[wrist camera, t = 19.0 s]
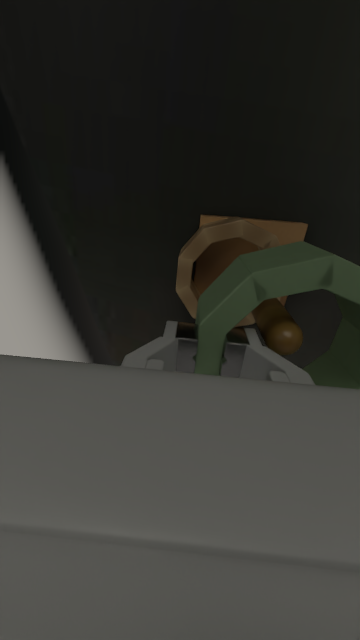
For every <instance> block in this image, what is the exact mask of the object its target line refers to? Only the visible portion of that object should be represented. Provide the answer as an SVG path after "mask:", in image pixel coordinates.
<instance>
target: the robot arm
mask: <svg viewBox="0 0 360 640" xmlns="http://www.w3.org/2000/svg"><path fill="white" fill-rule="evenodd" d="M197 329H198V324H193V323H184V322H177V321H167V322H166V326H165V330H164V334H163V337H159V338H157V339H155V340H153V341H151V342H149V343H148V344H146V345H144V346H142V347H140V348H138V349H137V350H135V351H133V352H131V353H129V354H127V355H126V356H125V357H124V360H123V362H122V364H121V366H114V365H103V364H93V363H82V362H72V361H61V360H51V359H41V358H31V357H20V356H9V355H0V640H360V389H350V388H340V387H330V386H319V385H315V383H314V382H313V380H312V379H311V377H310V375H309V374H308V373H307V372H305V371H304V370H302V369H301V368H299V367H297V366H296V365H294V364H293V363H291V362H289V361H288V360H286V359H285V358H283V357H281V356H280V355H278V354H277V353H275V352H274V351H272V350H270V349H269V348H267V347H265V346H262V344H261V342H260V340H259V337H258V335H257V333H256V331H255V329H254V328H241V327H234V328H232V329H231V330H230V331H229V332H228V333H227V334H226V337H225V341H224V346H223V355H222V358H221V363H220V369H219V371H220V376H216V375H206V374H196V373H194V371H195V363H196V354H197V347H198V331H197Z"/></svg>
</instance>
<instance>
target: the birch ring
mask: <svg viewBox="0 0 360 640" xmlns="http://www.w3.org/2000/svg"><path fill="white" fill-rule="evenodd" d="M238 237H240V238H242V239H244V240H246V241H248V242H250V243H252V244H254V245H256V246H257V247H258V250H259V251H260V250H264V249H268V248H273V247H277V246H280V243H279V241H278V238H277V237H276V235H274V234H272V233H270V232H268V231H266V230H264V229H262V228H260V227H258V226H256V225H254V224H252V223H250V222H248V221H246V220H244V219H242V218H240V217H231V218H227V219H223V220H218V221H214V222H210V223H205V224H203V225H202V226H201V227H200V228H199V229H198V230H197V232H196V233H195V234H194V235H193V236H192V237H191V238H190V240H189V241H188V242H187V243H186V244H185V245H184V246H183V248H182V249H181V251H180V254H179V258H178V269H177V280H176V292H177V294H178V295H179V297H180V298H181V300H182V302H183V303H184V305H185V306H186V308H187V310H188V311H189V313H190V314H191V316H192V317H193V318H195V319H196V314H197V305H198V299H199V297H200V295H201V294H200V292H199V290H198V289H197V287H196V285H195V283H194V282H193V280H192V278H191V277H192V268H193V263H194V262H195V261H196V259H197V258H198V257H199V256H200V255H201V254H202V253H203V252H204V251H205V250H206V249H207V248H208V246H209V245H210V244H211V243H215V242H219V241H224V240H228V239H233V238H238ZM280 298H281V297H277V299H278V300H279V301H280ZM254 323H255V319H254V317H253V315H252V313H251V312H250V313H249V314H248V315H247V316H246V317H245V318H244V319H242V320H241V321H240V322H239V323H238V324H237V325H236V326H235V327H238V326H244V325H250V324H254Z"/></svg>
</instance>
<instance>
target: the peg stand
mask: <svg viewBox="0 0 360 640" xmlns="http://www.w3.org/2000/svg"><path fill="white" fill-rule="evenodd" d="M227 218H231V217H227V216H215V215H202V214H201V216H200V226H199V228H200V227H201V226H202V225H203V224H205V223H210V222H214V221H218V220H223V219H227ZM242 219H244V220H246V221H248V222H250V223H252V224H254V225H256V226H258V227H260V228H262V229H264V230H266V231H268V232H270V233H272V234H274V235H276V237H277V238H278V241H279V243H280V246H282V245H286V244H290V243H295V242H299V241H302V242H303V241H304V237H305V234H306V230H307V227H308V224H305V223H302V222H290V221H277V220H265V219H252V218H242ZM255 251H259V250H258V247H257V246H256V245H254V244H252V243H250V242H248V241H246V240H244V239H242V238H240V237H238V238H233V239H228V240H224V241H219V242H215V243H211V244H210V245H209V246H208V248H207V249H206V250H205V251H204V252H203V253H202V254H201V255H200V256H199V257H198V258H197V259H196V266H195V276H194V283H195V285H196V287H197V289H198V290H199V292H200V294H202V293H203V292H204V291H205V290H206V289H207V288H208V287H209V286H210V285H211V284H212V283H213V282H214V281H215V280H216V279H217V278H218V277H219V276H220V275H221V274H222V273H223V272H224V271H225V269H226V268H227V267H228V266H229V265H230V264H231V263H232V262H233V261H234V260H235V259H236V258H237V257H239V255H242V254H247V253H251V252H255ZM286 298H287V296H282V297H281V298H280V301H279V300H278V299H277V298H272V299H267V300H264V301H263V302H261V303H260V304H259V305H258V306H257V307H256V308H255V309H254V310H253V311H251V313H252V315H253V317H254V319H255V322H256V324H257V326H258V328H259V330H260V333H261V335H262V337H263V339H264V341H265V343H266V345H267V347H268V348H269V349H270V350H272V351H274V352H275V353H277V354H279V355H290V354H292V353H294V352H296V351H297V350H298V349H299V348H300V347H301V345H302V342H303V333H302V331H301V329H300V327H299V326H298V325H297V323H296V322H295V321H294V319H293V318H292V317H291V315H290V314H289V313H288V312H287V310H286V309H285V308H284V305H285V302H286Z"/></svg>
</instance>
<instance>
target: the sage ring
mask: <svg viewBox="0 0 360 640" xmlns="http://www.w3.org/2000/svg"><path fill="white" fill-rule="evenodd" d="M318 289H324V290H327V291H329V292H331V293H334V294H335V297H336V300H337V302H338V305H339V308H340V311H341V313H342V316H343V318H342V320H341V323H340V325H339V327H338V330H337V332H336V334H335V337H334V339H333V341H332V344H331V346H330V348H329V350H328V351H327V352H326V353H324V354H323V355H321V356H320V357H318V358H317V359H316V360H314V361H313V362H311V363H310V364H308V365H307V366H306V367H304V368H303V369H302V370H304V371H305V372H307V373H308V374H309V375H310V377H311V379H312V380H313V382H314V383H315V385H319V386H330V387H340V388H350V389H360V266H358V265H356V264H354V263H352V262H349V261H347V260H345V259H343V258H341V257H339V256H337V255H334V254H332V253H330V252H327V251H325V250H322V249H320V248H318V247H315V246H313V245H311V244H308V243H306V242H302V241H299V242H295V243H290V244H286V245H282V246H277V247H273V248H268V249H264V250H260V251H255V252H251V253H247V254H242V255H239V257H237V258H236V259H235V260H234V261H233V262H232V263H231V264H230V265H229V266H228V267H227V268H226V269H225V271H224V272H223V273H222V274H221V275H220V276H219V277H218V278H217V279H216V280H215V281H214V282H213V283H212V284H211V285H210V286H209V287H208V288H207V289H206V290H205V291H204V292H203V293H202V294H201V295H200V297H199V299H198V305H197V314H196V322H195V324H198V329H197V331H198V347H197V354H196V363H195V371H194V373H196V374H206V375H216V376H220V371H219V369H220V363H221V358H222V355H223V346H224V341H225V337H226V334H227V333H228V332H229V331H230V330H231V329H232V328H234V327H235V326H236V325H237V324H238V323H239V322H240V321H241V320H242V319H244V318H245V317H246V316H247V315H248V314H249V313H250V312H251V311H253V310H254V309H255V308H256V307H257V306H258V305H259V304H260V303H261V302H263V301H264V300H267V299H272V298H277V297H282V296H287V295H292V294H297V293H302V292H307V291H312V290H318Z"/></svg>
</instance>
